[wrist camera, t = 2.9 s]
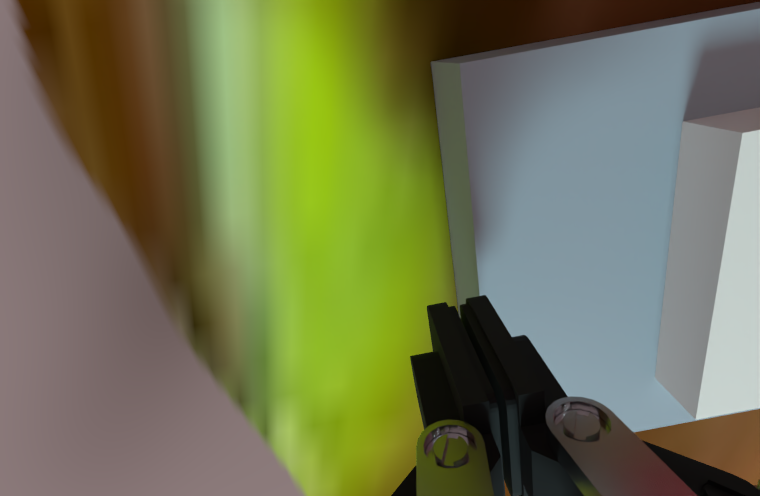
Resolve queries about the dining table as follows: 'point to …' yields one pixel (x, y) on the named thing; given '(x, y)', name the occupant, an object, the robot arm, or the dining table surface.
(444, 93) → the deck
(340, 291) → the dining table surface
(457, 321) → the robot arm
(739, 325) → the tile
